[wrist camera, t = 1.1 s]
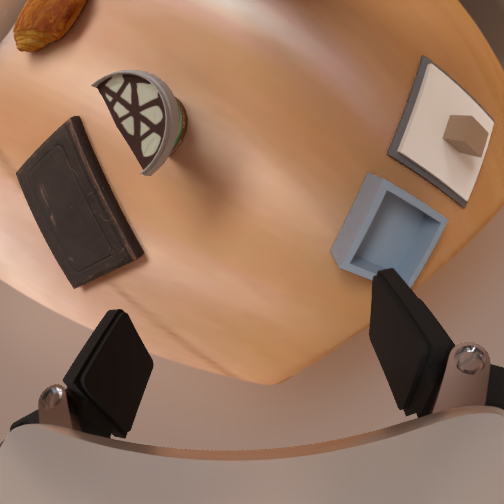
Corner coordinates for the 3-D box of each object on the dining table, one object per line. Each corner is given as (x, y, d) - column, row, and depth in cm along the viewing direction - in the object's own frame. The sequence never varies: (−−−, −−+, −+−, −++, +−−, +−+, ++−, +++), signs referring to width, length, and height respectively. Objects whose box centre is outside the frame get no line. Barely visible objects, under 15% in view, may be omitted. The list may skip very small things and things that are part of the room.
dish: (367, 172, 32) (383, 178, 27) (429, 208, 33) (448, 219, 29) (329, 250, 37) (339, 267, 32) (393, 276, 38) (406, 293, 34)
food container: (215, 140, 31) (197, 143, 22) (173, 166, 32) (142, 179, 23) (169, 64, 27) (137, 42, 18) (130, 91, 28) (88, 81, 19)
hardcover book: (80, 282, 41) (73, 289, 39) (24, 170, 32) (15, 173, 30) (146, 251, 38) (140, 257, 36) (81, 115, 29) (72, 115, 27)
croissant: (26, 45, 23) (-5, 46, 16) (65, -25, 16) (37, -33, 9) (62, 62, 26) (27, 63, 19) (110, -19, 19) (80, -32, 12)
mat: (422, 56, 24) (423, 55, 24) (492, 120, 26) (494, 120, 26) (386, 153, 31) (388, 154, 30) (462, 206, 33) (464, 207, 32)
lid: (427, 64, 24) (451, 57, 19) (490, 122, 26) (514, 125, 21) (397, 151, 30) (420, 156, 25) (463, 199, 32) (487, 211, 26)
